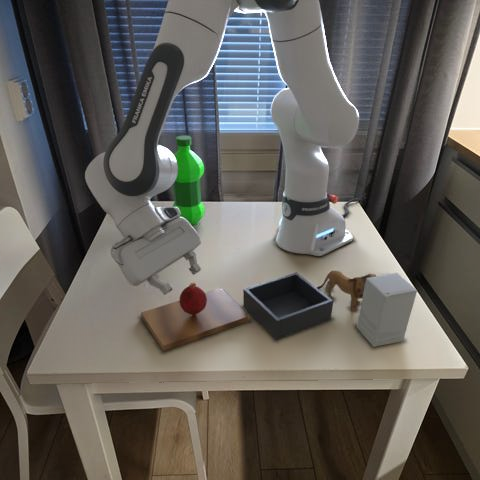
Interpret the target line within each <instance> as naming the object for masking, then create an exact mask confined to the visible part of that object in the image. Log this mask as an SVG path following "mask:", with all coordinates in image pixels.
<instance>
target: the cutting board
mask: <svg viewBox="0 0 480 480" xmlns="http://www.w3.org/2000/svg"><path fill="white" fill-rule="evenodd" d="M204 293H205V294H206V297H207V304H206V306H205V308H204V310H202V311H201V312H200V313H198V314H196V315H192V314H188V313H186V312H184V310H183V309H182V308H181V306H180V300H176V301H173V302H170V303H167V304H164V305H160V306H157V307H154V308H150V309H147V310H144V311H141V312H140V316H141V320H142V321H143V322H144V324H145V325H146V327H147V329H148V330H149V331H150V333H151V334H152V335H153V337H154V338H155V340H156V342H157V343H158V345H159V346H160V348H161V349H162V350H163V352H166V351H169V350H172V349H175V348H177V347H181V346H183V345H187V344H189V343H192V342H195V341H198V340H199V339H203V338H206V337H208V336H211V335H214V334H217V333H220V332H222V331H225V330H228V329H231V328H234V327H237V326H240V325H242V324H245V323H248V322H249V320H250V319H249V315H248V314H247V312H245V311H244V309H242V307H240V306H239V305H238V304H237V303H236V302H235V300H234V299H233V298H231V297H230V296H229V295H228V293H226V291H225V290H223V288H221V287H218V288H215V289H212V290H209V291H204Z"/></svg>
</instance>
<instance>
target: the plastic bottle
mask: <svg viewBox="0 0 480 480" xmlns="http://www.w3.org/2000/svg"><path fill="white" fill-rule="evenodd" d="M192 143H193V142H192V136H191V135H177V136H176V137H175V144H176V146H177V147H178V150H177V151H176V152H175V153H173V155H174V156H175V158H176V160H177V163H178V176H177V179H176V181H175V183H174V184H173V185H172V187H173V198H174V202H173V205H172V207H177V208H178V209H179V210H180V212H181V214H180V216H179V217H183V218H185V219H186V220H187V221H188V222H189V223H190V224H191V225H192V226H193V225H197V224H198V222H200V220H201V219H202V218H203V217H204V216H205V213H206V210H205V206H204V204H203V202H202V190H201V189H202V188H201V178H202V177H203V175H204V172H205V164H204V162H203V160H202V159H201V158H200V157H199V156H198V155H197V154H196V153H195V152H194V151H192V150H191V145H192Z"/></svg>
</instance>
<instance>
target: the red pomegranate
mask: <svg viewBox="0 0 480 480" xmlns="http://www.w3.org/2000/svg"><path fill="white" fill-rule="evenodd" d="M179 301H180V306H181V308H182V309H183V310H184V312H186V313H188V314H192V315H196V314H198V313H200V312H201V311H202V310H204V308H205V306H206V304H207V297H206V294H205V291H204V290H203V289H202V288H201V287H199V286H197V283H196V282H191V283H190V284H189V285H188V286H186V287H185V288H184V289H183V290H182V291H181V293H180V294H179Z"/></svg>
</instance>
